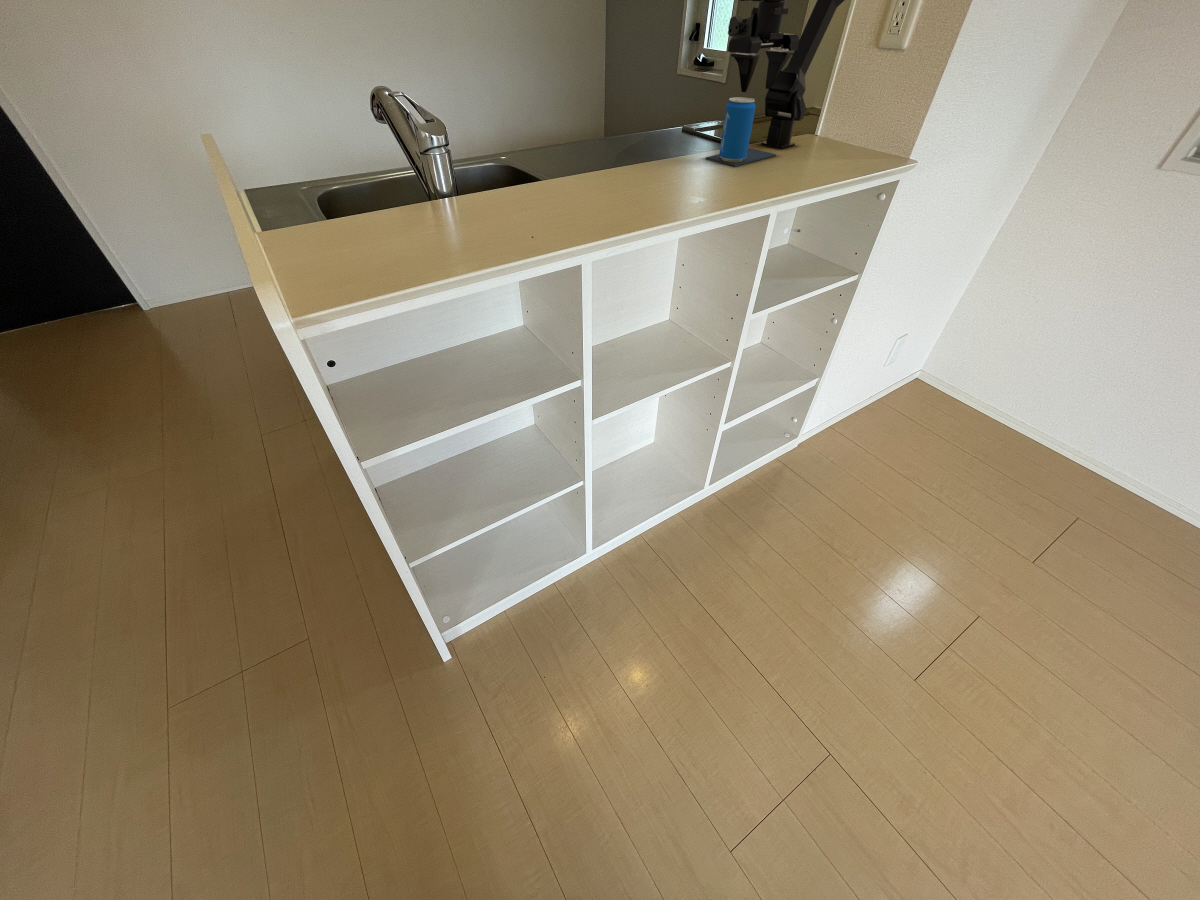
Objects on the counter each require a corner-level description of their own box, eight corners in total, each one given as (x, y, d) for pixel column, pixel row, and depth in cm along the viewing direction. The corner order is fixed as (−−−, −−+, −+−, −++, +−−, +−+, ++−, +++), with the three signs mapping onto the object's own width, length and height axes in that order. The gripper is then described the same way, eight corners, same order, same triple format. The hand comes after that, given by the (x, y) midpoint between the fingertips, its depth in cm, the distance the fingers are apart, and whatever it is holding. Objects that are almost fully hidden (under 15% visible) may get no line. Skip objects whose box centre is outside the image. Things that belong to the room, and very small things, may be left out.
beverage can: (714, 157, 123) (722, 97, 114) (738, 155, 124) (748, 96, 116) (725, 163, 118) (735, 102, 110) (750, 162, 119) (762, 101, 111)
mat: (746, 149, 130) (747, 147, 130) (775, 156, 125) (776, 154, 125) (705, 159, 123) (705, 157, 123) (734, 166, 118) (735, 164, 118)
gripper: (766, 0, 117) (752, 83, 127) (714, 0, 108) (703, 89, 118) (809, 1, 111) (790, 88, 121) (757, 1, 101) (741, 95, 112)
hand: (755, 90), depth 118 cm, fingers open, 9 cm apart
